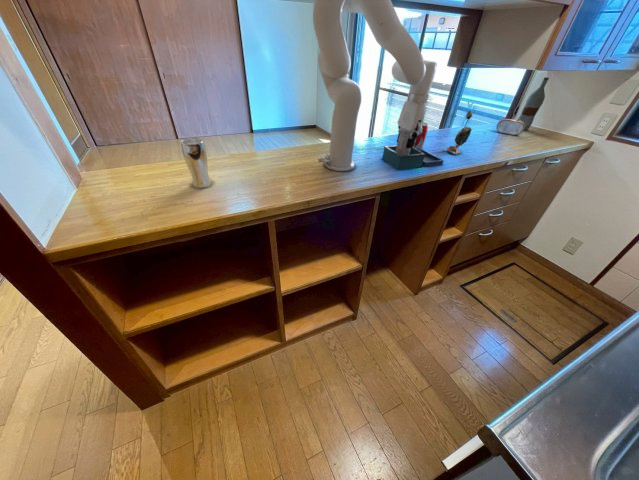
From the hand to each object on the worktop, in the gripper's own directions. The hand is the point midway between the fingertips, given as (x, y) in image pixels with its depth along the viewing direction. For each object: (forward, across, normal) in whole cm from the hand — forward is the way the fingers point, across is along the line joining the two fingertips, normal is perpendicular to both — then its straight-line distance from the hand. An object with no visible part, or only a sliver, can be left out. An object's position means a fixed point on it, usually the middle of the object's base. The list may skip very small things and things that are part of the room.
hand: (404, 144), depth 113 cm
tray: (+8, 0, +14) cm, 16 cm away
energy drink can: (+7, 0, 0) cm, 7 cm away
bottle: (+5, -31, +121) cm, 125 cm away
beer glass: (+11, -1, -83) cm, 84 cm away
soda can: (+8, -15, +20) cm, 26 cm away
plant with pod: (+7, -6, +38) cm, 39 cm away
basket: (+8, 0, +1) cm, 8 cm away
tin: (+6, -24, +99) cm, 102 cm away
